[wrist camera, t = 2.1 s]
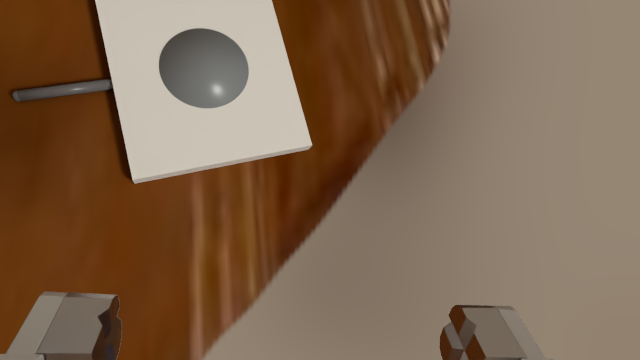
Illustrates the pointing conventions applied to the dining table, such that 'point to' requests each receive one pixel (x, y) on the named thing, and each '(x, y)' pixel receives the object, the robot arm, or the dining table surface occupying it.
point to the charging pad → (195, 84)
